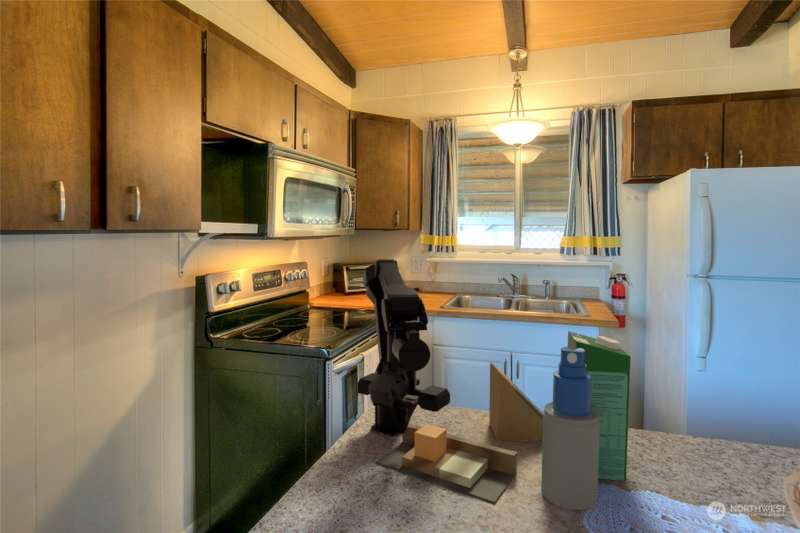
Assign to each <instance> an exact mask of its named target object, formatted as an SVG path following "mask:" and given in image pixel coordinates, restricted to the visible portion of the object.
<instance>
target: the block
mask: <svg viewBox="0 0 800 533" xmlns="http://www.w3.org/2000/svg"><path fill="white" fill-rule="evenodd" d="M447 431H448V430H447V428H443V427H439V426H435V425H432V424H428V423H426V424H424V425H423V426H421V428H420V429H419V430H417V431H416V432H415V456H418V457H421V458H425V459H428V460H431V461H434V462H436V461H437V460H438V459H439V458H440V457H441V456H442V455H444V454H445V453H446V448H447V434H448V432H447Z"/></svg>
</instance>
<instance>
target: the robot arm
mask: <svg viewBox="0 0 800 533" xmlns="http://www.w3.org/2000/svg"><path fill="white" fill-rule="evenodd" d="M399 268H400V267H399V266H398V261H397V260H396V259H394V258H388V259H387V258H386V259H385V258H384V259H383V258H382V259H381V258H380V259H379V258H378V259H376V260H374V263H372V264H370V265H369V266H367V267H365V268H364V271H363V274H362V285H363V288H365V293H366V297H368V299H369V300H370V302H372V304H373V308H374V309H373V310H374V318H375V329H376V339H377V340H376V341H377V348H378V350H377V351H378V359H379V360H378V361H379V362H378V364H377V366H376V368H375V371H374V372H372V373H370V374H367V375H364V376H363V377H360V378H359V379H358V381H357V383H356V393H357V394H361V395H365V396H369V397H370V402H371V403H372V406H373V407H374V424H373V425H371V426H370V430H373V431H377V432H379V433H383V434H386V435H390V436H396V435H398V434H401V435H402V434H403V433H404V432H405V431H406V428H407V426H408V424H410V422H411V419H412V416H413V414H414V413H415V410H416V409H417V407H420V409H421V410H424V411H425V410H426V411H430V412H439V411H440V410H443V408H445V407H446V406H447V405H448V404H450V403H451V393H450V392H449V390H448V388H446V387H442V386H437V385H430V386H427V387H426V388H425V389H423V388H418V387H417V386H419V385H420V383H421V381H420V379H419V378H417V372H418V371H421V370H423V369H424V368H425V367H426V366H427V365H428V364H429V362H430V360H431V351H430V347H429V346H428V344H427V343H426V342H425V341H424V340H423V339H422V338H421V336H420V335H421V334H420V332H421V331H428V326H427V325H428V323H429V318H428V315H427V310H426V307H425V303H424V302H423V299H422V297H420V295H419V293H418V292H417V291H416V290H415V288H413V287H411V286H410V287H409V286H407V285H406V283H405V282H404V279H403V277H402V274H401V272H400V270H399Z"/></svg>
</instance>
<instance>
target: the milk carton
mask: <svg viewBox="0 0 800 533" xmlns="http://www.w3.org/2000/svg"><path fill="white" fill-rule="evenodd" d="M620 344H621V343H620V341H618V340H616V339H613V338H611V337H606V336H603V335H597V336H596V338H595V337H593V336H588V335H585V334H581V333H577V332H573V331H571V330H568V332H567V347H568V348H569V349H576V348H582V349H584V350H585V364H586V365H587V373H588V374H590V375H591V377H592V381H591V408H593V409H595V410H596V411H597V412H598V415H599V419H600V434H599V465H598V479H601V480H602V479H603V480H612V481H621V482H627V469H628V467H627V466H628V442H629V441H628V440H629V438H628V437H629V416H630V415H629V414H630V413H629V411H630V389H631V388H630V386H631V385H630V384H631V362H632V358H631V355H629V354H628V353H627V352H626V350H624V349H623V348H621V347H620Z"/></svg>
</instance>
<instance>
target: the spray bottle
mask: <svg viewBox="0 0 800 533" xmlns="http://www.w3.org/2000/svg"><path fill="white" fill-rule="evenodd" d="M591 381H592V377H591V375H590V374H588V373H587V365H586V364H585V350H584V349H582V348H576V349H569V348H568V346H563V347H561V348H560V361H559V362H558V369H557V370H554V371H553V382H552V385H553V386H552V402H549V403H548V402H547V403H546V404H545V405H544V410H543V411H542V412H543V440H541V441H542V447H541V448H542V451H541V455H542V456H541V485H540V486H541V488H540V490H541V491H540V492H541V493H542V495H543V497H544V498H545V499H546V500H548V501H549V502H551V503H552V504H554V505H556V506H558V507H561V508H565V509H570V510H574V511H576V510H579V511H582V510H588V509H592V508H593V507H595V506H596V504H597V502H598V490H599V478H598V465H599V434H600V419H599V415H598V412H597V411H596V410H595V409H593V408H591Z"/></svg>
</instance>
